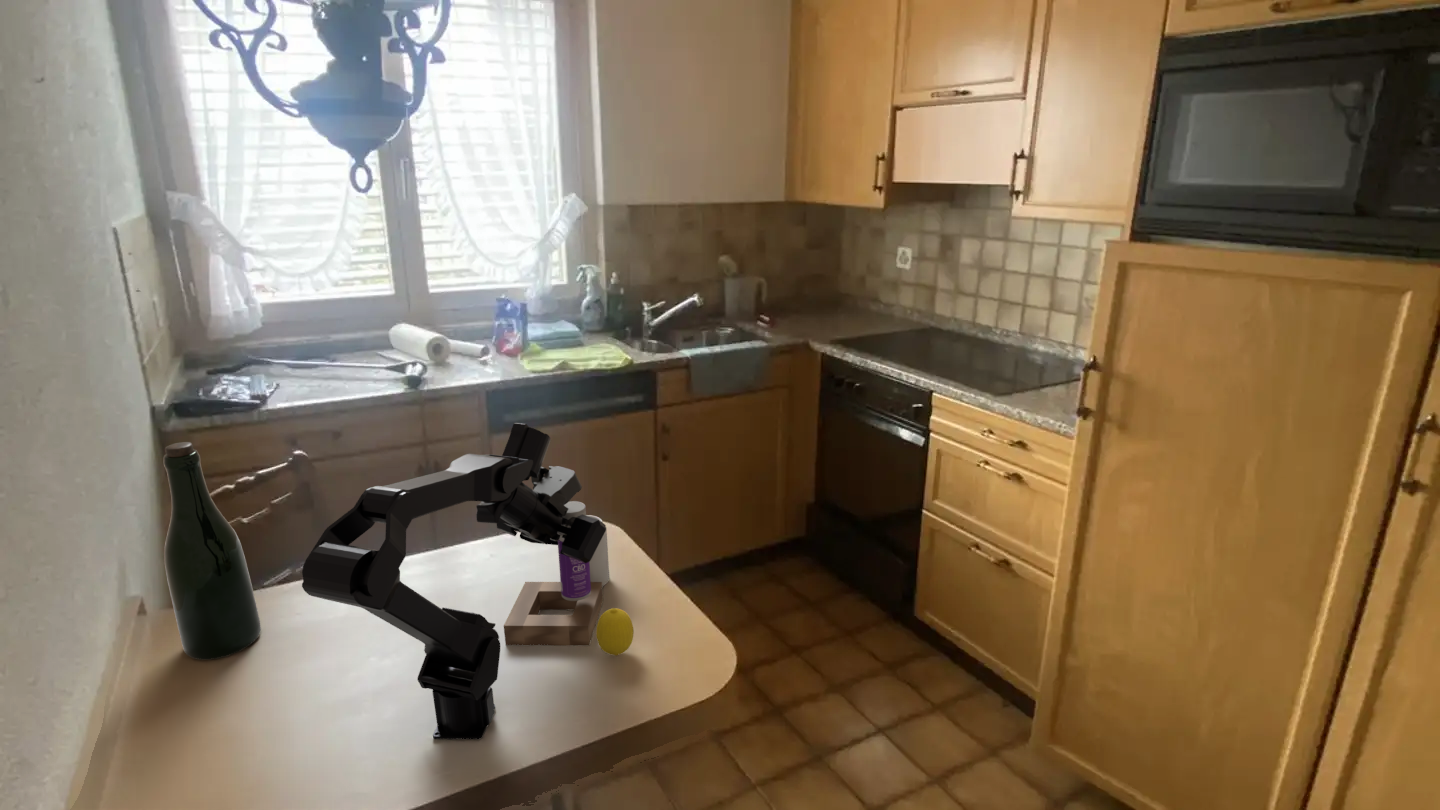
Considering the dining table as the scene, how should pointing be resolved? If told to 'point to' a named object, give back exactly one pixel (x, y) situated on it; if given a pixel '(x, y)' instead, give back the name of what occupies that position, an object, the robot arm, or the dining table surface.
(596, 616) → the frame
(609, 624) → the lemon
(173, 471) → the beer bottle
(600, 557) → the can
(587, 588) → the container
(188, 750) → the dining table surface
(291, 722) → the dining table surface
